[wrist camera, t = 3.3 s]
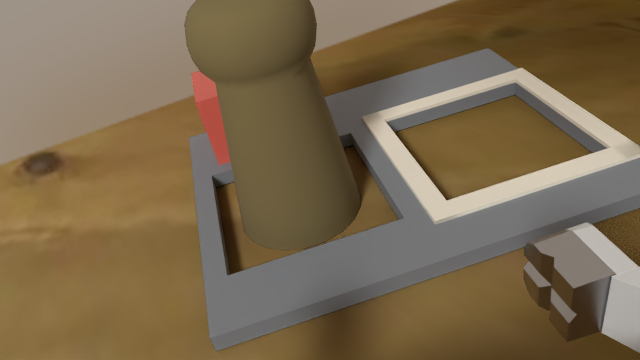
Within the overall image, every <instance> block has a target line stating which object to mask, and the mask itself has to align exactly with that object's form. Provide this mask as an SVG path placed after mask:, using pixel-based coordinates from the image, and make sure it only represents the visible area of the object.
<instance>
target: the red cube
mask: <svg viewBox="0 0 640 360" xmlns="http://www.w3.org/2000/svg"><path fill="white" fill-rule="evenodd" d="M192 80H193V88H194V95H195V102H196V105H197V108H198V110H199V113H200V116H201V119H202V121H203V124H204V127H205V129H206V132H207V135H208V137H209V140H210V143H211V145H212V148H213V151H214V153H215V156H216V159H217V161H218V164H219V165H222V164H225V163H228V162H231V161H230V156H229V151H228V146H227V141H226V136H225V131H224V125H223V120H222V115H221V110H220V105H219V100H218V95H217V90H216V85H215V82H213V81H212V80H211V79H209V78H208V77H206V76H205V75H204V74H202V73H201V72H200V71H197V72H194V73H192Z"/></svg>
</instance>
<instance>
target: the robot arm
mask: <svg viewBox="0 0 640 360" xmlns="http://www.w3.org/2000/svg"><path fill="white" fill-rule="evenodd" d="M524 256H525V257H526V258H527V259H528V260H529V261H528V263H527V264H526V266H525V267H524V268H523V273H524V282H525V285H526V288H527V290H528V292H529V294H530V296H531V298H532V299H533V300H534V301H535V303H536V304H537V305H538V306H539V307H542V308H544V309H546V310H549V311H550V317H549V320H550V322H551V323H552V324H553V325H554V327H555V328H556V329H557V330H558V332H559V333H560V334H561V335H562V337H563V338H564V339H565V340H566V342H569V341H572V340H575V339H578V338H581V337H584V336H588V335H591V334H594V333H597V332H600V331H602V333H603V334H605V335H607V336H608V337H610V338H612V339H614V340H616V341H618V342H620V343H622V344H623V345H625V346H627V347H629V348H631V349H633V350H635V351H637V352H639V353H640V266H638V265H636V264H635V263H634V262H633V261H632V260H631V259H630V258H629V257H628V256H626V255H625V254H624V253H623V252H622V251H621V250H620V249H619V248H618V247H616V246H615V245H614V244H613V243H612V242H611V241H610V240H609V239H608V238H606V237H605V236H604V235H603V234H602V233H601V232H600V231H599V230H598V229H596V228H595V227H594V226H593V225H592V224H590V223H587V222H586V223H583V224H580V225H577V226H574V227H571V228H568V229H566V230H561V231H559V232H556V233H553V234H550V235H547V236H544V237H542V238H539V239H536V240H533V241H530V242H527V244H526V245H525V247H524Z"/></svg>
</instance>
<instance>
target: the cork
mask: <svg viewBox="0 0 640 360" xmlns="http://www.w3.org/2000/svg"><path fill="white" fill-rule="evenodd" d="M316 24H317V23H316V18H315V13H314V9H313V7H312V5H311V2H310V0H196V1H195V3H194V4H193V5H192V6H191V7H190V9H189V10H188V12H187V16H186V21H185V34H186V43H187V47H188V50H189V52H190V55H191V58H192V60H193V62H194V63H195V64H196V66H197V67H198V69H199V70H200V72H201V73H202V74H204V75H205V76H206V77H208V78H209V79H211V80H212V81H213V82H215V85H216V90H217V95H218V100H219V105H220V110H221V115H222V120H223V125H224V131H225V136H226V141H227V146H228V151H229V156H230V161H231V166H232V171H233V176H234V182H235V187H236V192H237V197H238V202H239V207H240V212H241V217H242V222H243V227H244V231H245V233H246V234H247V235H248V236H249V237H250V238H251V239H252V241H253V242H256V243H258V244H260V245H262V246H264V247H266V248H271V249H278V250H285V251H286V250H295V249H305V248H308V247H311V246H314V245H318V244H321V243H324V242H326V241H328V240H329V239H331V238H333V237H334V236H336V235H338V234H339V233H341V232H343V231H344V230H345V229H346V228H347V227H348V225H349V224H350V223H351V222H352V221H353V220H354V219H355V217H356V215H357V213H358V211H359V209H360V192H359V190H358V187H357V184H356V181H355V179H354V176H353V173H352V170H351V168H350V165H349V162H348V160H347V157H346V154H345V151H344V149H343V146H342V143H341V141H340V138H339V135H338V132H337V130H336V127H335V124H334V122H333V119H332V116H331V113H330V111H329V108H328V105H327V103H326V100H325V97H324V94H323V92H322V89H321V86H320V84H319V81H318V78H317V75H316V73H315V70H314V67H313V65H312V62H311V59H310V56H311V54H312V52H313V49H314V47H315V42H316V26H317V25H316Z"/></svg>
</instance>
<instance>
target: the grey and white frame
mask: <svg viewBox="0 0 640 360" xmlns="http://www.w3.org/2000/svg"><path fill="white" fill-rule="evenodd" d="M512 95H516V96H518V97H519V98H520V99H522V100H523V101H524V102H526V103H527V104H528V105H530V106H531V107H532V108H534V109H535V110H536V111H538V112H539V113H540V114H542V115H543V116H544V117H546V118H547V119H548V120H550V121H551V122H552V123H554V124H555V125H556V126H558V127H559V128H560V129H562V130H563V131H564V132H565V133H567V134H568V135H569V136H571V137H572V138H573V139H575V140H576V141H577V142H579V143H580V144H581V145H583V146H584V147H585V148H587V149H588V150H589V151H591V152H592V154H589V155H585V156H582V157H579V158H576V159H573V160H570V161H567V162H564V163H561V164H558V165H555V166H552V167H549V168H545V169H542V170H539V171H536V172H533V173H530V174H527V175H524V176H521V177H518V178H515V179H512V180H509V181H505V182H502V183H499V184H496V185H493V186H490V187H487V188H484V189H481V190H478V191H475V192H472V193H469V194H465V195H462V196H459V197H456V198H453V199H450V200H446V199H445V198H444V197H443V195H442V194H441V193H440V191H439V190H438V189H437V188H436V186H435V185H434V184H433V182H432V181H431V180H430V178H429V177H428V176H427V175H426V173H425V172H424V171H423V169H422V168H421V167H420V165H419V164H418V163H417V162H416V160H415V159H414V158H413V156H412V155H411V154H410V152H409V151H408V150H407V149H406V147H405V146H404V145H403V143H402V142H401V141H400V140H399V138H398V137H397V136H396V134H395V133H394V132H396V131H399V130H402V129H406V128H409V127H412V126H415V125H418V124H422V123H425V122H428V121H431V120H435V119H438V118H441V117H444V116H448V115H451V114H454V113H457V112H460V111H464V110H467V109H470V108H473V107H477V106H480V105H483V104H486V103H490V102H493V101H496V100H499V99H502V98H506V97H509V96H512ZM325 100H326V103H327V105H328V108H329V111H330V113H331V116H332V119H333V122H334V124H335V127H336V130H337V132H338V135H339V138H340V141H341V143H342V146H343V148H344V147H347V146H351V145H353V146H354V147H355V149H356V151H357V152H358V154H359V155H360V157H361V159H362V160H363V162H364V164H365V165H366V167H367V168H368V170H369V172H370V173H371V175H372V177H373V178H374V180H375V182H376V183H377V185H378V186H379V188H380V190H381V191H382V193H383V195H384V196H385V198H386V199H387V201H388V203H389V204H390V206H391V208H392V209H393V211H394V213H395V214H396V216H397V217H398V219H399V220H397V221H394V222H390V223H387V224H384V225H381V226H378V227H375V228H372V229H369V230H366V231H363V232H360V233H357V234H354V235H351V236H347V237H344V238H341V239H338V240H335V241H332V242H329V243H326V244H323V245H320V246H317V247H314V248H311V249H308V250H304V251H301V252H298V253H295V254H292V255H289V256H286V257H283V258H280V259H277V260H274V261H271V262H268V263H265V264H262V265H258V266H255V267H252V268H249V269H246V270H243V271H240V272H237V273H234V274H231V275H230V270H229V264H228V258H227V251H226V245H225V239H224V233H223V227H222V221H221V215H220V209H219V203H218V196H217V190H216V187H218V186H221V185H225V184H228V183H231V182H234V176H233V171H232V166H231V162H228V163H225V164H222V165H219V164H218V161H217V159H216V156H215V153H214V151H213V148H212V145H211V143H210V140H209V137H208V135H207V132H206V133H203V134H199V135H196V136H193V137H189V142H190V151H191V161H192V171H193V180H194V190H195V200H196V209H197V219H198V228H199V238H200V248H201V257H202V267H203V277H204V286H205V296H206V306H207V315H208V325H209V335H210V340H211V342H212V343H213V345H214V347H215V349H216V351H218V350H221V349H224V348H227V347H230V346H233V345H236V344H239V343H242V342H245V341H248V340H251V339H254V338H257V337H260V336H263V335H266V334H269V333H272V332H275V331H278V330H280V329H283V328H286V327H289V326H292V325H295V324H298V323H301V322H304V321H307V320H310V319H313V318H316V317H319V316H322V315H325V314H328V313H331V312H334V311H337V310H340V309H343V308H345V307H348V306H351V305H354V304H357V303H360V302H363V301H366V300H369V299H372V298H375V297H378V296H381V295H384V294H387V293H390V292H393V291H396V290H399V289H402V288H405V287H408V286H410V285H413V284H416V283H419V282H422V281H425V280H428V279H431V278H434V277H437V276H440V275H443V274H446V273H449V272H452V271H455V270H458V269H461V268H464V267H467V266H470V265H473V264H475V263H478V262H481V261H484V260H487V259H490V258H493V257H496V256H499V255H502V254H505V253H508V252H511V251H514V250H517V249H520V248H523V247H525V245H526V244H527V242H530V241H533V240H536V239H539V238H542V237H544V236H547V235H550V234H553V233H556V232H559V231H561V230H566V229H568V228H571V227H574V226H577V225H580V224H583V223H586V222H587V223H590V224H594V223H597V222H600V221H603V220H605V219H608V218H611V217H614V216H617V215H620V214H623V213H626V212H629V211H632V210H635V209H638V208H640V146H638V145H637V144H635V143H634V142H632V141H631V140H629V139H628V138H626V137H625V136H623V135H622V134H620V133H619V132H617V131H616V130H614V129H613V128H611V127H610V126H608V125H607V124H605V123H604V122H602V121H601V120H599V119H598V118H596V117H595V116H593V115H592V114H590V113H589V112H587V111H586V110H584V109H583V108H581V107H580V106H578V105H577V104H575V103H574V102H572V101H571V100H569V99H568V98H566V97H565V96H563V95H562V94H560V93H559V92H557V91H556V90H554V89H553V88H551V87H550V86H548V85H547V84H545V83H544V82H542V81H541V80H539V79H538V78H536V77H535V76H533V75H532V74H530V73H529V72H527V71H526V70H524V69H523V68H520V69H518V68H517V67H515V66H514V65H512V64H511V63H509V62H508V61H506V60H505V59H503V58H502V57H500V56H499V55H497V54H496V53H494V52H493V51H492V50H490V49H489V48H487V49H483V50H480V51H477V52H473V53H470V54H467V55H463V56H460V57H457V58H453V59H450V60H447V61H443V62H440V63H437V64H433V65H430V66H427V67H423V68H420V69H417V70H413V71H410V72H407V73H403V74H400V75H397V76H393V77H390V78H387V79H383V80H380V81H377V82H373V83H370V84H366V85H363V86H360V87H356V88H353V89H350V90H346V91H343V92H340V93H336V94H333V95H330V96H326V97H325Z"/></svg>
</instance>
